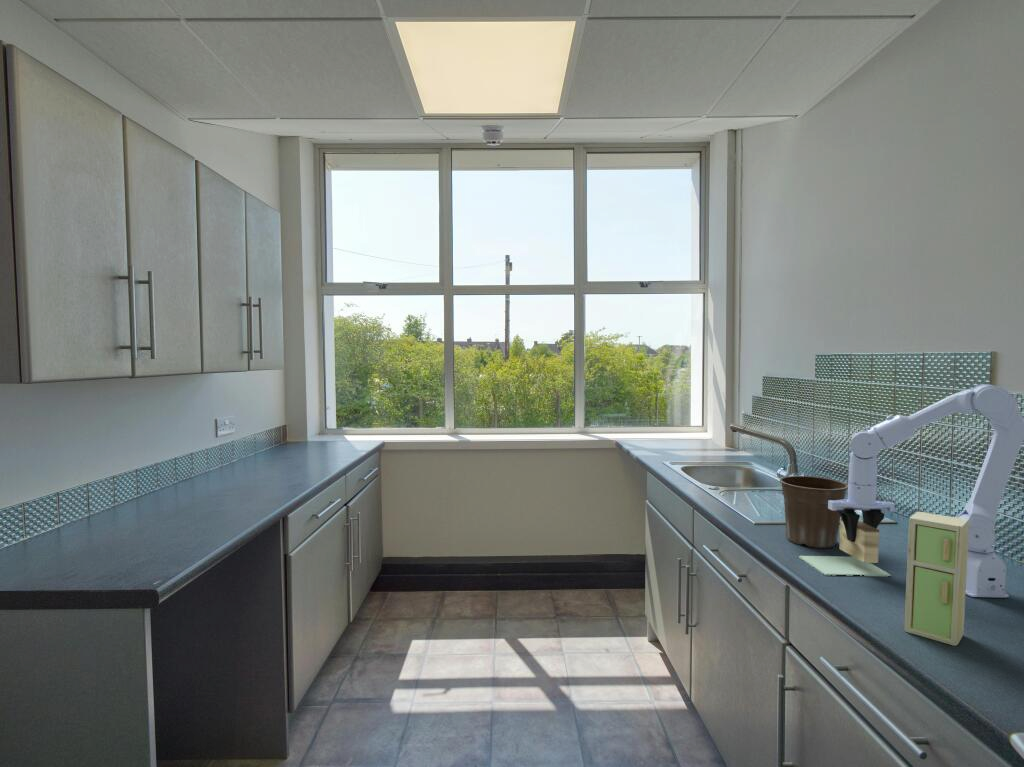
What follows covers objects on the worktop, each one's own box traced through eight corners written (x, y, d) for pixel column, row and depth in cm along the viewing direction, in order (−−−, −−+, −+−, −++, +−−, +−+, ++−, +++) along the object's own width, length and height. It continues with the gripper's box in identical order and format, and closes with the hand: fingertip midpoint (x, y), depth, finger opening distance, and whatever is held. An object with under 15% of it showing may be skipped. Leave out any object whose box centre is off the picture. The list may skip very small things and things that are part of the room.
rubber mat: (890, 576, 136) (890, 574, 136) (824, 575, 136) (824, 573, 136) (859, 558, 148) (859, 556, 148) (798, 557, 148) (798, 555, 148)
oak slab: (877, 562, 136) (879, 530, 136) (863, 562, 136) (865, 529, 136) (852, 549, 146) (853, 518, 146) (839, 548, 146) (840, 518, 146)
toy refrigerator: (901, 632, 108) (907, 517, 107) (911, 620, 113) (917, 510, 112) (955, 648, 102) (963, 527, 101) (963, 635, 108) (970, 519, 107)
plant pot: (803, 552, 151) (806, 489, 151) (764, 533, 167) (767, 476, 166) (859, 549, 155) (863, 487, 154) (816, 531, 170) (819, 475, 170)
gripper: (882, 480, 144) (879, 536, 145) (822, 479, 144) (819, 535, 144) (901, 486, 137) (898, 545, 138) (838, 485, 137) (835, 544, 137)
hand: (859, 540), depth 141 cm, fingers closed on oak slab, 3 cm apart
